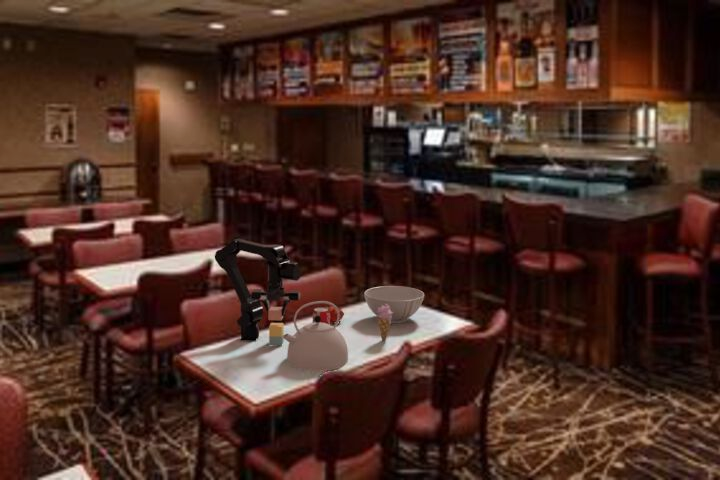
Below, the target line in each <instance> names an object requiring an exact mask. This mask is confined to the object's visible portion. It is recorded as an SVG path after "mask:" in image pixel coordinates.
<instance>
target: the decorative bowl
mask: <svg viewBox="0 0 720 480" xmlns="http://www.w3.org/2000/svg"><path fill="white" fill-rule="evenodd" d="M363 295H364V300H365V302H366V304H367V306H368V308H369V309H370V310H371V312H372V313H373V314H374V315H375V316H376V315H377V311H378V309H377V308H381V307H382V306H381V305H383V306H385V304H387V305H389V307H390V310H391V312H393V313H392V318H391V323H390V324H402V323H406V322H407V321H408V319H409V318H410V317H412V316H413V315H415V314H416V313H417V312H418V310H419V309H420V307H421V305H422V303H423V301H424V298H425V293H424V292H423V291H422V290H420V289H417V288H413V287H409V286H399V285H383V286H376V287H372V288H368V289H366V290H365V291H364V293H363Z"/></svg>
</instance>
